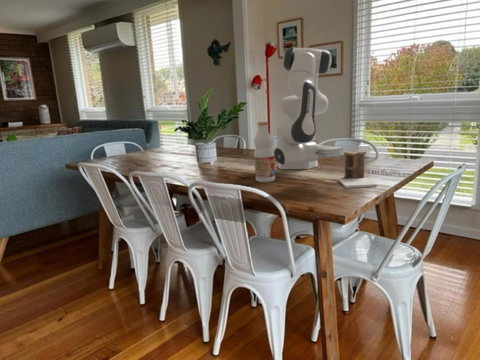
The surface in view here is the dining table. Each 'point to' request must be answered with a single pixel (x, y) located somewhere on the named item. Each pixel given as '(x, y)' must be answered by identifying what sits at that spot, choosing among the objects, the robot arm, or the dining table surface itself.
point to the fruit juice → (264, 154)
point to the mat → (357, 182)
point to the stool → (354, 164)
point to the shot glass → (365, 149)
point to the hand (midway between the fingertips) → (334, 148)
